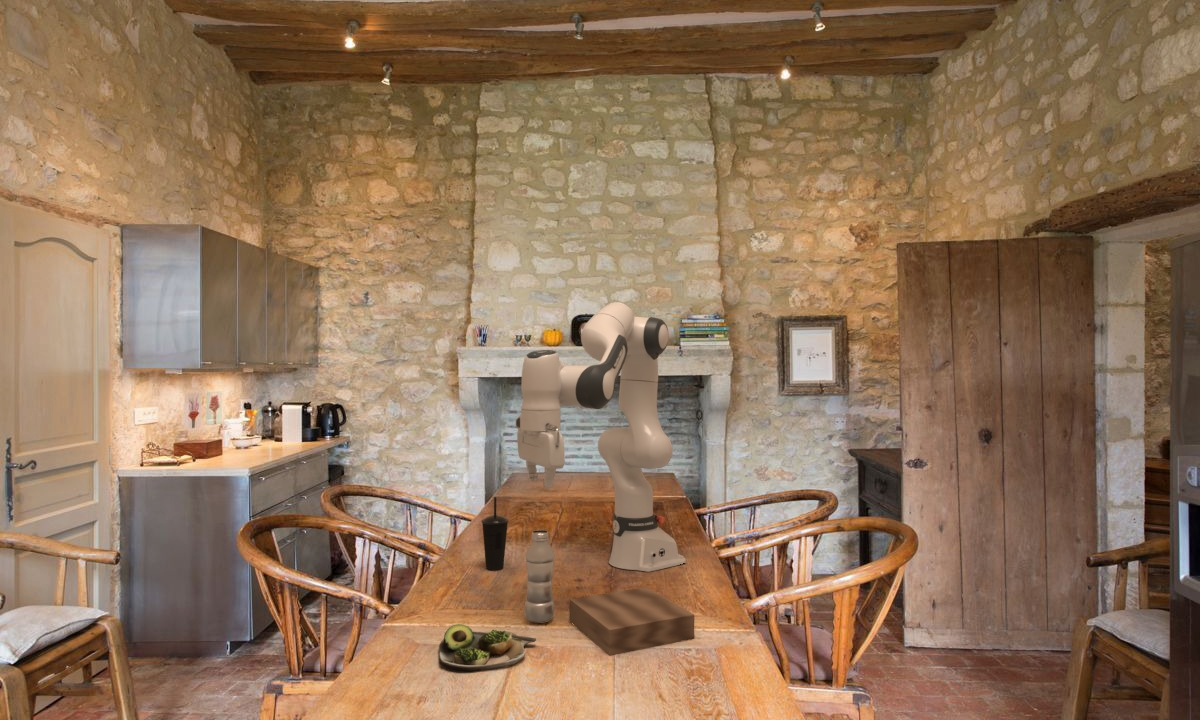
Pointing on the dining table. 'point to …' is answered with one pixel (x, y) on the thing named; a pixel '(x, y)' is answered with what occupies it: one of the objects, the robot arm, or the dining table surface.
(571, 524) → the dining table surface
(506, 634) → the avocado toast plate
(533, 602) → the plastic bottle
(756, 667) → the dining table surface
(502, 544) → the drinking cup
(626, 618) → the walnut base
